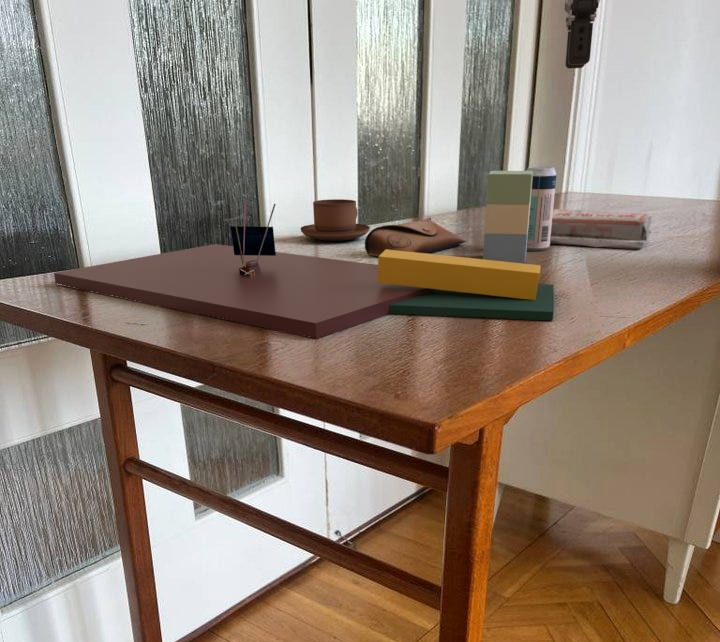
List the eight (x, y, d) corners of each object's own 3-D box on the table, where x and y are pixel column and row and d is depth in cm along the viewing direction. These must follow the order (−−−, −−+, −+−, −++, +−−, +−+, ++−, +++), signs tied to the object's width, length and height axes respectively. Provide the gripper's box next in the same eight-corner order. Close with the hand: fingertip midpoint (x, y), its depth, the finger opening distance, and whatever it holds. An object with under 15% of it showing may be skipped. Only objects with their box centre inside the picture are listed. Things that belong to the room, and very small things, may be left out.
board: (55, 284, 99) (40, 202, 94) (215, 254, 119) (209, 185, 114) (316, 338, 74) (312, 230, 69) (463, 288, 94) (467, 201, 89)
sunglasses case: (410, 257, 111) (391, 214, 110) (377, 277, 116) (358, 237, 115) (469, 241, 124) (453, 203, 123) (437, 260, 129) (421, 223, 128)
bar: (536, 291, 87) (540, 265, 85) (535, 300, 83) (539, 273, 82) (383, 274, 90) (385, 249, 89) (376, 282, 87) (378, 256, 85)
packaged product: (655, 210, 123) (648, 218, 115) (651, 241, 125) (643, 250, 117) (546, 206, 130) (531, 212, 122) (543, 235, 133) (529, 243, 125)
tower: (526, 256, 114) (533, 170, 109) (524, 263, 109) (532, 174, 103) (486, 255, 115) (491, 170, 110) (482, 262, 110) (488, 173, 105)
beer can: (550, 246, 121) (557, 166, 116) (548, 251, 117) (556, 168, 112) (519, 246, 123) (526, 166, 117) (517, 250, 118) (523, 168, 113)
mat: (552, 292, 91) (553, 284, 91) (552, 321, 79) (553, 311, 79) (375, 286, 96) (375, 278, 95) (349, 312, 84) (349, 303, 83)
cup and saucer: (315, 233, 138) (314, 197, 135) (378, 235, 135) (378, 198, 132) (290, 242, 128) (288, 204, 125) (357, 245, 125) (356, 206, 122)
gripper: (639, -140, 69) (618, 61, 76) (623, -103, 82) (606, 67, 89) (555, -132, 71) (542, 65, 78) (552, -96, 83) (541, 70, 90)
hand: (576, 66), depth 83 cm, fingers open, 8 cm apart
